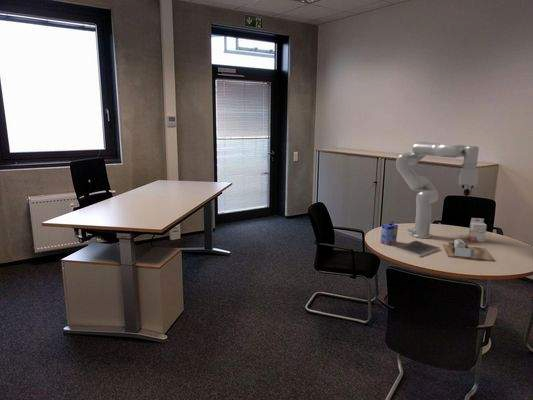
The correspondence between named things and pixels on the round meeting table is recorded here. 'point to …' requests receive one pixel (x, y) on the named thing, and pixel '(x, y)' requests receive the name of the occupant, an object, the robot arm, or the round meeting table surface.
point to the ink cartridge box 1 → (389, 233)
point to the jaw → (459, 244)
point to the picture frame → (417, 248)
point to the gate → (464, 252)
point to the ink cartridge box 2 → (477, 230)
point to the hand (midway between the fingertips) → (466, 195)
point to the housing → (478, 252)
